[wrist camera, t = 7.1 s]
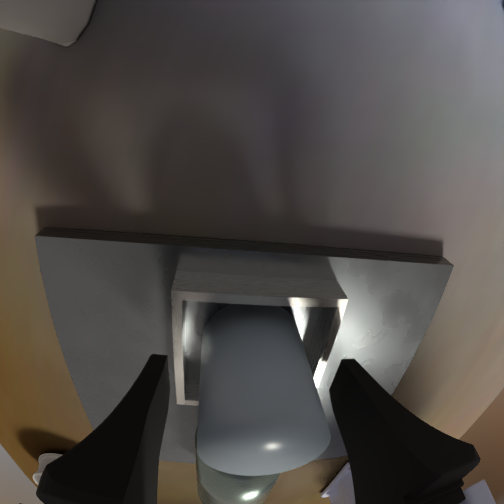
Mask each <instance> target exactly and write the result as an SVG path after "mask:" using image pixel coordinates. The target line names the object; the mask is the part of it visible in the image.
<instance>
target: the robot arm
mask: <svg viewBox="0 0 504 504" xmlns="http://www.w3.org/2000/svg"><path fill="white" fill-rule="evenodd" d="M329 393H330V399H331V404H332V409H333V413H334V416H335V419H336V422H337V425H338V428H339V431H340V433H341V436H342V439H343V442H344V445H345V448H346V451H347V455H348V459H349V462H348V463H346V465H345V466H344V467H343V468H342V470H341V471H340V472H339V473H338V475H337V476H336V477H335V478H334V479H333V481H332V482H331V483H330V484H329V485H328V487H327V488H326V489H325V490H324V491H323V492H322V493H321V497H329V498H330V502H331V504H496V503H495V501H494V499H493V497H492V494H491V492H490V490H489V488H488V486H487V484H486V482H485V480H482V481H480V482H478V483H476V484H474V485H472V486H470V487H469V488H467V489H465V490H464V491H462V489H461V487H462V486H463V485H464V483H463V481H462V478H463V477H464V476H466V475H467V474H468V473H469V472H470V471H471V470H473V469H474V468H475V467H476V466H477V465H478V463H479V462H480V457H479V455H478V453H477V451H476V449H475V448H474V446H473V445H472V444H469V443H466V442H463V441H461V440H458V439H456V438H453V437H451V436H449V435H447V434H445V433H443V432H441V431H439V430H437V429H435V428H434V427H432V426H430V425H429V424H427V423H425V422H424V421H422V420H421V419H419V418H418V417H417V416H415V415H414V414H412V413H411V412H410V411H408V410H407V409H406V408H405V407H403V406H402V405H401V404H400V403H399V402H398V401H396V400H395V399H394V398H393V397H392V396H391V395H390V394H389V393H388V392H387V391H386V390H385V389H384V388H383V387H382V386H381V385H380V384H379V383H378V382H377V381H376V380H375V379H374V378H373V377H372V376H371V375H370V374H369V373H368V372H367V371H366V370H365V369H364V368H363V367H362V366H361V365H360V364H359V363H358V362H357V361H356V360H355V359H341V362H340V364H339V367H338V369H337V372H336V374H335V377H334V379H333V381H332V384H331V386H330V388H329ZM169 397H170V380H169V368H168V355H160V354H152V355H150V357H149V359H148V361H147V362H146V364H145V366H144V368H143V369H142V371H141V373H140V374H139V376H138V377H137V379H136V380H135V382H134V383H133V385H132V386H131V388H130V389H129V391H128V392H127V393H126V395H125V396H124V397H123V399H122V400H121V401H120V402H119V404H118V405H117V406H116V407H115V409H114V410H113V411H112V412H111V413H110V414H109V416H108V417H107V418H106V419H105V420H104V421H103V422H102V423H101V424H100V425H99V426H98V427H97V428H96V429H95V430H94V431H93V432H92V433H90V434H89V435H88V436H87V437H86V438H85V439H83V440H82V441H81V442H80V443H78V444H77V445H76V446H74V447H73V448H72V449H71V450H69V451H68V452H66V453H65V454H63V455H62V456H60V457H59V458H57V459H55V460H54V461H52V462H50V463H49V464H47V465H46V467H45V469H44V471H43V473H42V475H41V477H40V481H39V484H38V488H37V492H36V495H37V497H38V498H39V499H40V500H41V501H42V502H43V503H44V504H157V482H158V465H159V456H160V450H161V445H162V439H163V434H164V429H165V424H166V419H167V414H168V408H169ZM19 504H21V503H19Z"/></svg>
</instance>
